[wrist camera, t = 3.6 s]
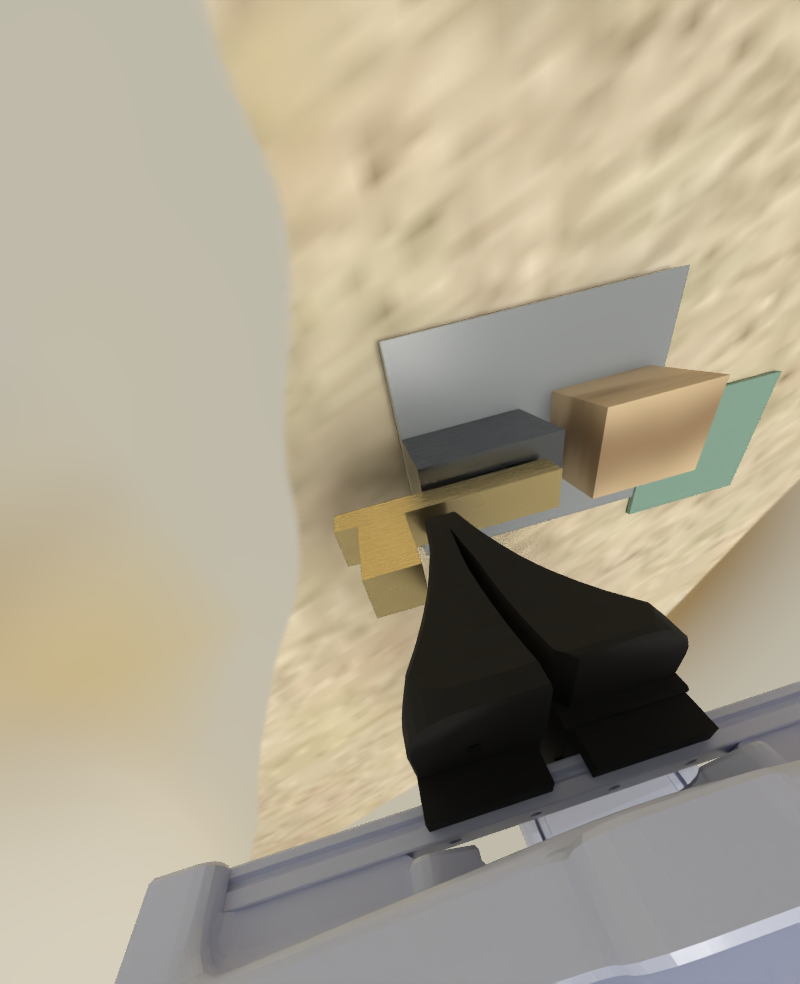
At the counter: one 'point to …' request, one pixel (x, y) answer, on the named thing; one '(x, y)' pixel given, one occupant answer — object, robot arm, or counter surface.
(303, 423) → the counter surface
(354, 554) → the latch bolt
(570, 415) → the oak cover
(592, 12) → the counter surface
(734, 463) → the pad
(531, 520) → the housing plate
